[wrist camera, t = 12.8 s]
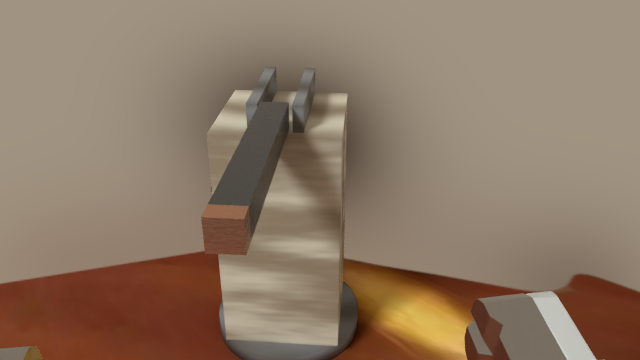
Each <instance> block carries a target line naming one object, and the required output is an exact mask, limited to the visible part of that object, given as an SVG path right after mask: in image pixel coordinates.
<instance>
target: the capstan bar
mask: <svg viewBox="0 0 640 360" xmlns="http://www.w3.org/2000/svg"><path fill="white" fill-rule="evenodd" d="M288 132H289V102H260V103H259V105H258V107H257V109H256V111H255V113H254V115H253V117H252V119H251V121H250V123H249V125H248V127H247V129H246V131H245V132H244V134H243V136H242V138H241V140H240V142H239V144H238V146H237V148H236V150H235V152H234V154H233V156H232V158H231V160H230V162H229V164H228V166H227V168H226V170H225V172H224V174H223V175H222V177H221V179H220V181H219V183H218V185H217V187H216V189H215V191H214V193H213V195H212V197H211V199H210V201H209V203H208V205H207V207H206V209H205V211H204V213H203V215H202V217H201V221H202V230H203V239H204V248H205V253H211V254H230V255H247V252H248V249H249V246H250V243H251V240H252V237H253V235H254V232H255V229H256V226H257V223H258V220H259V217H260V214H261V211H262V208H263V205H264V202H265V199H266V196H267V193H268V190H269V187H270V185H271V182H272V179H273V176H274V173H275V170H276V167H277V164H278V161H279V158H280V155H281V152H282V149H283V146H284V143H285V140H286V138H287V135H288Z"/></svg>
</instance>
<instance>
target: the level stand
mask: <svg viewBox="0 0 640 360" xmlns="http://www.w3.org/2000/svg"><path fill="white" fill-rule="evenodd" d="M276 85H277V84H276V67H266V69H265V71H264V73H263V74H262V76H261V78H260V79H259V81H258V83H257V85H256V86H255V88H254V90H253V91H251V90H235V92H234V93H233V95H232V96H231V98H230V99H229V101H228V102H227V104H226V105H225V107H224V108H223V110H222V111H221V113H220V114H219V116H218V117H217V119H216V121H215V122H214V124H213V125H212V127H211V128H210V130H209V131H208V133H207V142H208V152H209V163H210V174H211V184H212V187H211V191H212V194H213V193H214V191H215V189H216V187H217V185H218V183H219V181H220V179H221V177H222V175H223V174H224V172H225V170H226V168H227V166H228V164H229V162H230V160H231V158H232V156H233V154H234V152H235V150H236V148H237V146H238V144H239V142H240V140H241V138H242V136H243V134H244V132H245V131H246V129H247V127H248V125H249V123H250V121H251V119H252V117H253V115H254V113H255V111H256V109H257V107H258V105H259V103H260V102H289V132H288V135H287V138H286V140H285V143H284V146H283V149H282V152H281V155H280V158H279V161H278V164H277V167H276V170H275V173H274V176H273V179H272V182H271V185H270V187H269V190H268V193H267V196H266V199H265V202H264V205H263V208H262V211H261V214H260V217H259V220H258V223H257V226H256V229H255V232H254V235H253V237H252V240H251V243H250V246H249V249H248V252H247V255H230V254H218V257H219V267H220V278H221V288H222V298H223V300H222V302H221V305H220V312H219V316H220V326H221V333H222V337H223V339H224V341H225V343H226V345H227V346H228V348H229V349H230V350H231V351H232V352H233V353H234V354H235V355H236V356H238V357H239V358H241V359H242V360H331V359H333V358H335V357H336V356H337V355H339V354H340V353H341V352H343V351H344V350H345V349H346V348H347V347H348V345H349V344H350V343H351V341H352V339H353V338H354V336H355V333H356V330H357V321H358V304H357V300H356V297H355V295H354V293H353V292H352V290H351V289H350V287H349V286H348V285H347V284H346V283H345V282H343V262H344V222H345V219H344V218H345V183H346V181H345V180H346V179H345V178H346V142H347V103H348V94H347V93H318V92H315V69H314V68H306V69H305V71H304V74H303V76H302V79H301V82H300V85H299V88H298V90H297V92H285V91H284V92H283V91H282V92H281V91H277V86H276Z"/></svg>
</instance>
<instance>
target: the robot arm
mask: <svg viewBox="0 0 640 360" xmlns="http://www.w3.org/2000/svg"><path fill="white" fill-rule="evenodd" d="M471 313H472V315H473V317H474V321H473V322H471V323H470V324H469V325H468V326H467V329H466V334H465V351H466V355H467V359H468V360H596V358H595V356H594V355H593V353H592V351H591V350H590V348H589V347H588V345H587V343H586V342H585V340H584V339H583V337H582V335H581V334H580V332H579V331H578V329H577V327H576V326H575V324H574V322H573V321H572V319H571V318H570V316H569V314H568V313H567V311H566V310H565V308H564V306H563V305H562V303H561V301H560V300H559V298H558V297H557V295H556V294H554V293H553V292H552V291H547V292H538V293H529V294H514V295H506V296H498V297H489V298H481V299H477V300H476V301H475V302H474V303H473V306H472V310H471ZM41 359H42V356H41V354H40V352H39V350H38V348H37V347H36V346H29V347H17V348H4V349H0V360H41Z"/></svg>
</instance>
